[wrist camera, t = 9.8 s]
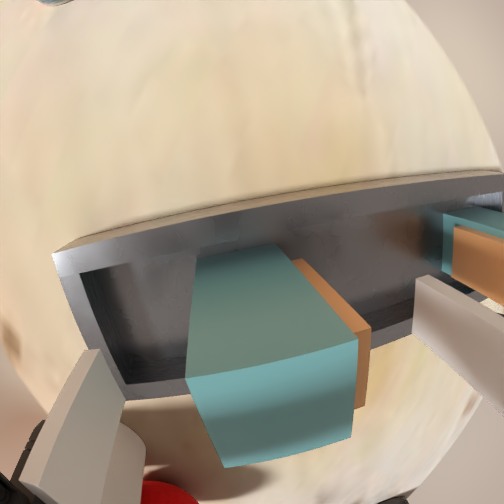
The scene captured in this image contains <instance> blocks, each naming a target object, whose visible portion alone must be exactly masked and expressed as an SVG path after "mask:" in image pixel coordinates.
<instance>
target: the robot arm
mask: <svg viewBox="0 0 504 504" xmlns="http://www.w3.org/2000/svg"><path fill="white" fill-rule="evenodd" d="M412 334H413V335H415V336H416V337H417V338H418V339H419V340H420V341H422V342H423V343H424V344H425V345H426V346H427V347H428V348H430V349H431V350H432V351H433V352H434V353H435V354H436V355H438V356H439V357H440V358H441V359H442V360H443V361H444V362H445V363H447V364H448V365H449V366H450V367H451V368H452V369H453V370H454V371H455V372H457V373H458V374H459V375H460V376H461V377H462V378H463V379H464V380H465V381H466V382H468V383H469V384H470V385H471V386H472V387H473V388H474V389H475V390H476V391H477V392H478V393H479V394H481V395H482V396H483V397H484V398H485V399H486V400H487V401H488V402H489V403H490V404H491V405H492V406H493V407H494V408H495V409H496V410H497V411H498V412H499V413H501V414H502V415H503V416H504V315H503V314H500V313H496V312H494V311H492V310H491V309H489V308H487V307H486V306H484V305H482V304H481V303H479V302H477V301H475V300H474V299H472V298H470V297H468V296H467V295H465V294H463V293H461V292H460V291H458V290H456V289H454V288H452V287H451V286H449V285H447V284H445V283H443V282H441V281H440V280H438V279H436V278H434V277H432V276H430V275H425V276H422V277H419V278H416V283H415V300H414V313H413V324H412ZM125 400H126V399H125V397H124V396H123V394H122V392H121V390H120V388H119V386H118V384H117V382H116V381H115V379H114V377H113V375H112V373H111V371H110V369H109V367H108V365H107V363H106V360H105V358H104V356H103V354H102V352H101V350H100V349H91V350H84V352H83V354H82V355H81V357H80V359H79V360H78V362H77V364H76V365H75V367H74V369H73V371H72V372H71V374H70V376H69V378H68V379H67V381H66V383H65V385H64V387H63V388H62V390H61V392H60V394H59V396H58V398H57V400H56V401H55V403H54V405H53V407H52V409H51V411H50V413H49V415H48V417H47V419H46V420H42V421H41V422H40V423H39V424H38V425H37V426H36V427H35V429H34V430H33V432H32V434H31V436H30V438H29V442H27V444H26V447H25V450H24V451H23V453H22V455H21V457H20V459H19V461H18V464H17V466H16V468H15V471H14V473H13V475H12V478H11V480H10V481H9V480H8V479H7V478H6V477H5V476H4V475H3V474H2V473H1V472H0V504H100V503H101V498H102V493H103V488H104V483H105V479H106V474H107V470H108V465H109V461H110V457H111V453H112V449H113V445H114V441H115V437H116V433H117V429H118V425H119V422H120V418H121V414H122V411H123V407H124V404H125ZM380 504H409V503H408V501H407V500H406V498H405V497H397V498H393V499H390V500H387V501H385V502H382V503H380Z"/></svg>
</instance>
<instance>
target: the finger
mask: <svg viewBox="0 0 504 504" xmlns="http://www.w3.org/2000/svg"><path fill="white" fill-rule="evenodd" d="M370 345H371V326H370V325H369V324H368V323H367V322H366V321H365V320H364V319H363V318H362V317H361V316H360V315H359V314H358V313H357V312H356V311H355V310H354V309H353V308H352V307H351V306H350V305H349V304H348V303H347V302H346V301H345V300H344V299H343V298H342V297H341V296H340V295H339V294H338V293H337V292H336V291H335V290H334V289H333V288H332V287H331V286H330V285H329V284H328V283H327V282H326V281H325V280H324V279H323V278H322V277H321V276H320V275H319V274H318V273H317V272H316V271H315V270H314V269H313V268H312V267H311V266H310V265H309V264H308V263H307V262H306V261H305V260H304V259H303V258H301V259H296V260H290V259H289V258H288V257H287V256H286V255H285V254H284V252H283V251H282V250H281V249H280V248H279V247H278V246H277V245H276V243H275V244H270V245H265V246H260V247H255V248H250V249H245V250H239V251H234V252H229V253H224V254H219V255H214V256H209V257H204V258H199V259H197V260H196V268H195V277H194V285H193V294H192V304H191V313H190V324H189V334H188V346H187V358H186V372H185V380H186V382H187V385H188V387H189V390H190V392H191V395H192V397H193V400H194V402H195V405H196V407H197V409H198V412H199V414H200V416H201V419H202V421H203V423H204V426H205V428H206V430H207V432H208V435H209V437H210V439H211V441H212V443H213V445H214V447H215V450H216V452H217V454H218V456H219V458H220V460H221V462H222V464H223V466H224V468H229V467H236V466H242V465H248V464H253V463H259V462H264V461H269V460H273V459H278V458H282V457H286V456H290V455H294V454H298V453H302V452H306V451H309V450H313V449H316V448H320V447H323V446H326V445H329V444H332V443H335V442H338V441H341V440H344V439H347V438H350V437H351V431H352V423H353V414H354V409H357V408H360V407H363V406H365V399H366V391H367V381H368V371H369V359H370Z"/></svg>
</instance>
